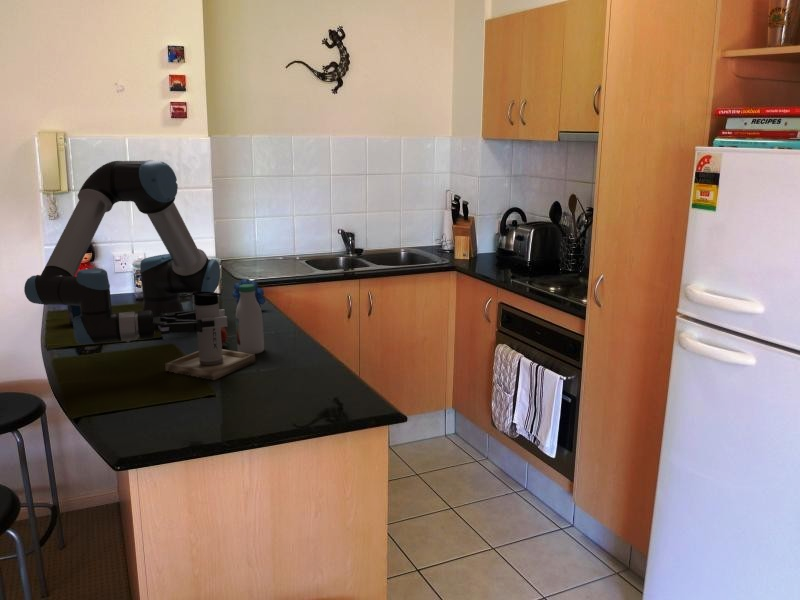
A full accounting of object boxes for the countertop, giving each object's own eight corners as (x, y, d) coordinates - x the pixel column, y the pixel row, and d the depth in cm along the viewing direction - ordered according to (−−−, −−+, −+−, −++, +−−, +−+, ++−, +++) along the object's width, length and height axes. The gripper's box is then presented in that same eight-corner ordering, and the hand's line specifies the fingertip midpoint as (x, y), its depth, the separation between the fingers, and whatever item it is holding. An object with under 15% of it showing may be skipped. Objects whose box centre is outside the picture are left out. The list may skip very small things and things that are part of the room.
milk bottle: (269, 348, 214) (265, 283, 209) (255, 356, 207) (251, 288, 202) (246, 346, 216) (242, 281, 212) (232, 354, 209) (228, 287, 205)
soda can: (96, 322, 247) (92, 288, 245) (85, 327, 241) (81, 292, 238) (76, 321, 248) (72, 288, 245) (65, 327, 241) (61, 292, 239)
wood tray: (165, 371, 195) (165, 363, 194) (208, 354, 209) (208, 346, 209) (214, 380, 187) (213, 372, 187) (255, 361, 202) (254, 354, 201)
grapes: (231, 314, 255) (229, 281, 252) (234, 310, 262) (232, 278, 259) (264, 313, 256) (262, 280, 253) (266, 309, 262) (264, 277, 260)
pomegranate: (219, 349, 221) (192, 335, 215) (232, 330, 222) (206, 315, 216) (226, 358, 215) (199, 344, 209) (240, 338, 216) (214, 323, 210)
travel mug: (200, 360, 201) (195, 290, 197) (224, 358, 201) (219, 289, 197) (196, 366, 195) (190, 294, 191) (221, 365, 195) (215, 293, 191)
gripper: (140, 329, 200) (223, 321, 207) (137, 349, 181) (229, 340, 188) (137, 303, 199) (222, 296, 205) (134, 321, 180) (227, 313, 186)
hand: (225, 317), depth 197 cm, fingers open, 8 cm apart
